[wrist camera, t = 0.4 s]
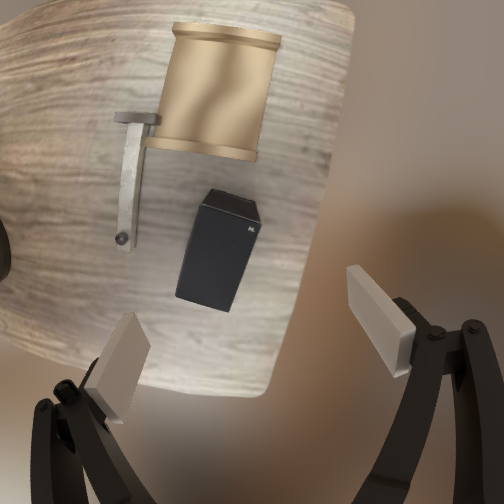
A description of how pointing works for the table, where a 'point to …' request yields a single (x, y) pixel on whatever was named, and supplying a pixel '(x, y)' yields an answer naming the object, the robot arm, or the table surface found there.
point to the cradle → (212, 91)
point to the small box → (218, 250)
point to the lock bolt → (130, 185)
